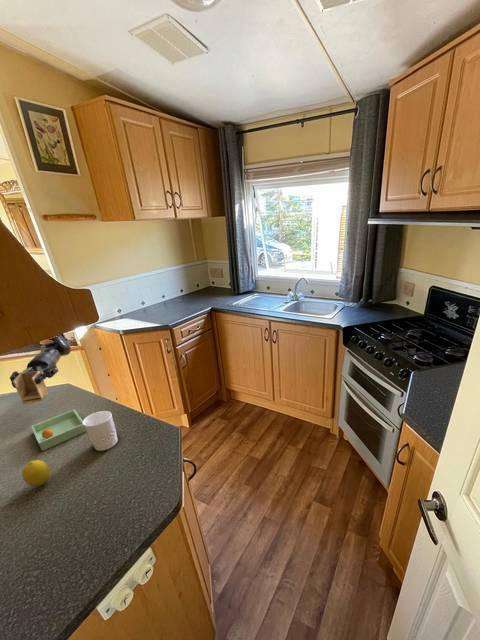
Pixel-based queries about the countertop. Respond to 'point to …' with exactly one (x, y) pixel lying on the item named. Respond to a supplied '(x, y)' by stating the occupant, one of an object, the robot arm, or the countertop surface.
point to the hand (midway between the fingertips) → (25, 383)
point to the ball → (47, 433)
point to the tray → (59, 429)
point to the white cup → (101, 430)
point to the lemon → (36, 473)
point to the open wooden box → (30, 387)
